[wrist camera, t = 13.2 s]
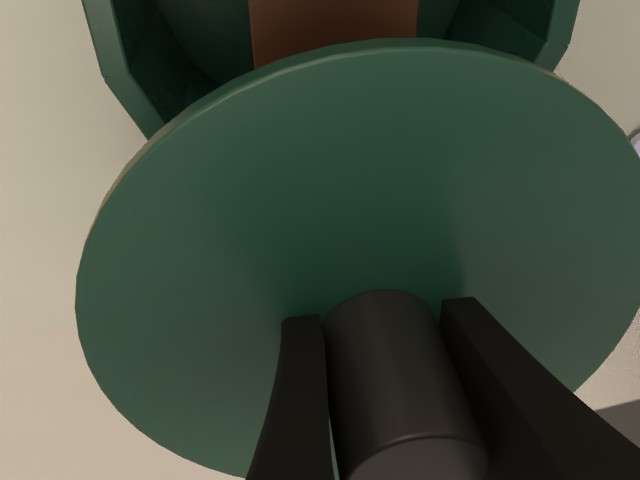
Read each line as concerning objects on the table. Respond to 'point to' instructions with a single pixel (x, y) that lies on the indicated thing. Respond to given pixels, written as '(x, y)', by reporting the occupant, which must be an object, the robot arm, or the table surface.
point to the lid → (359, 249)
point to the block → (324, 24)
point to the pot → (236, 50)
